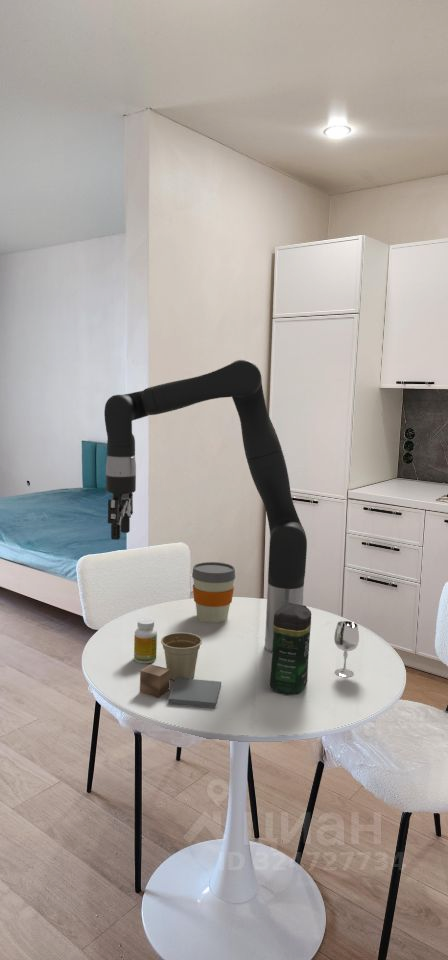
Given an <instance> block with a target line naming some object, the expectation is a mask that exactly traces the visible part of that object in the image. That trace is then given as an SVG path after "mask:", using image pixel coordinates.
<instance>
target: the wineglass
mask: <svg viewBox="0 0 448 960" xmlns="http://www.w3.org/2000/svg"><path fill="white" fill-rule="evenodd" d="M334 630H335V631H334V637H333V638H334V639H333V640H334V641H333V642H334V643H335V646H336V647H337V649H339V650H341V651H342V652H343V654H342V655H343V667H342V668H337V669H335V670H334V673H335V674H336V675H337V676H340V677H344V678H350V676H351V677H353V676H354V674H355V673H354V671H353V670H351V669H348V668H347V667H346V666H347V659H348V655H349V654H348V652H350V651H354V650H356V649H357V647H358V646H359V643H360V631H359V627H358V623H356V622H354V621H350V620H349V621H348V620H341V621H338V622H337V624H336V627H335V629H334Z"/></svg>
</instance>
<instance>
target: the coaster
mask: <svg viewBox="0 0 448 960" xmlns="http://www.w3.org/2000/svg"><path fill="white" fill-rule="evenodd" d="M221 688H222V681H218V680H216V681H215V680H207V679H205V680H204V679H197V678H196V679H195V678H190V679H185V678H177V679H176V681H175V683H174V685H173V686H172V689H171V692H170V693H169V695H168V698H167V704H168V705H174V706H187V707H197V708H207V709H208V708H209V709H216V707H217V705H218V704H217V703H218V700H219V696H220V692H221Z"/></svg>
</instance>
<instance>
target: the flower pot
mask: <svg viewBox="0 0 448 960" xmlns="http://www.w3.org/2000/svg"><path fill="white" fill-rule="evenodd" d="M160 643H161V645H162V648H163V650H164V658H165V666H166V667H165V668H167V669H170V679H171V680H173V681H175V682H176V679H177V678H185V679H194V677H195V672H196V665H197V660H198V654H199V650H200V647H201V645H202V643H203V639H202V638H201V636H199V635H197V634H194V633H191V632H172V633H169V634H166V635H163V636H162V637H161V639H160Z"/></svg>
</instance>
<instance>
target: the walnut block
mask: <svg viewBox="0 0 448 960" xmlns="http://www.w3.org/2000/svg"><path fill="white" fill-rule="evenodd" d="M139 672H140V674H139V675H140V676H139V693H140V694H144V695H148V696H151V697H155V698H158V699H160V698H161V697H163V696H164V695H165V694H167V693H168V692H169V691H170V682H171V681H170V680H171V678H170V669H167V667H162V666H159V665H155V664H152V663H149V665H147V666H144V668H142V669H141V670H140V671H139Z"/></svg>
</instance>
